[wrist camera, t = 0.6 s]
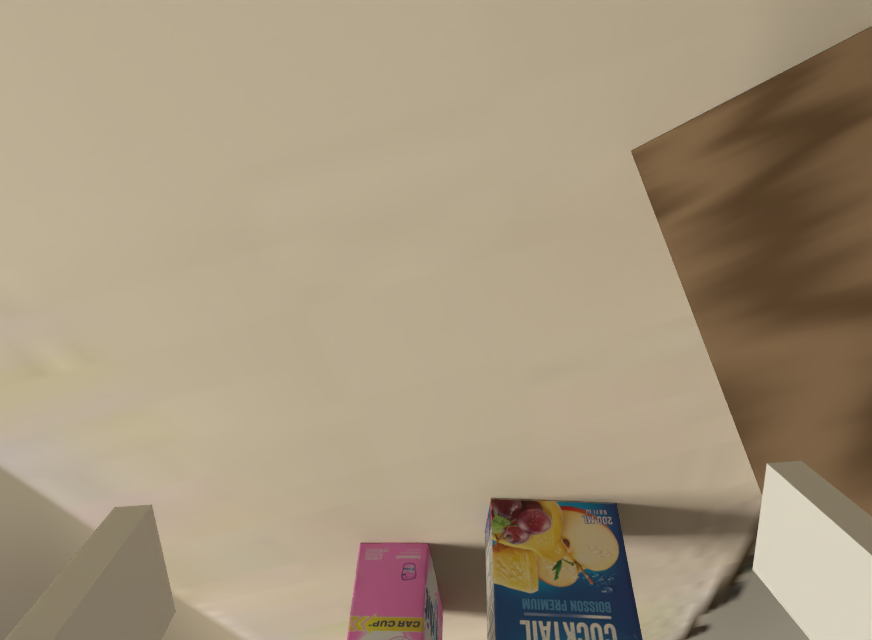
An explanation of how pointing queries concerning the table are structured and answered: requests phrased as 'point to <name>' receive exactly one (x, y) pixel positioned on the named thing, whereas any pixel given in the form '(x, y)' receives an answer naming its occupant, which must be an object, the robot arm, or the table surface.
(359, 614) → the gum box
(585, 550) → the blue food carton
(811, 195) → the wooden pedestal stand
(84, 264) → the table surface
